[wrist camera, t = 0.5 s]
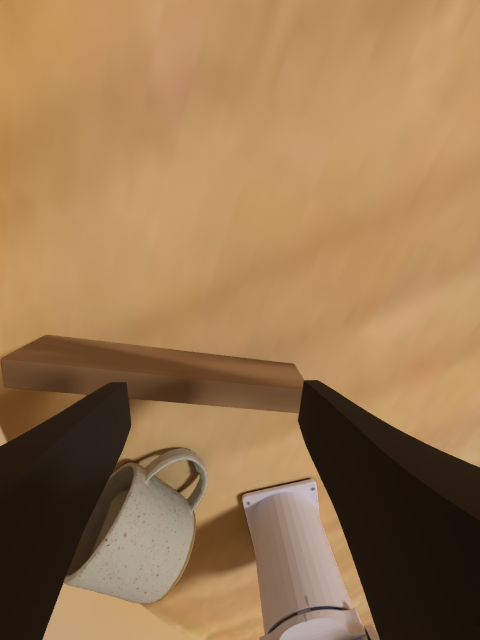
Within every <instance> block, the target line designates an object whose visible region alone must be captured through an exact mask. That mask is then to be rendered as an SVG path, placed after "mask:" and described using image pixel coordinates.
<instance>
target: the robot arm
mask: <svg viewBox="0 0 480 640" xmlns="http://www.w3.org/2000/svg"><path fill="white" fill-rule="evenodd" d="M298 422H299V426H300V429H301V432H302V435H303V438H304V441H305V444H306V447H307V449H308V451H309V453H310V456H311V458H312V460H313V462H314V464H315V467H316V469H317V471H318V473H319V475H320V477H321V480H322V482H323V484H324V486H325V488H326V490H327V493H328V495H329V497H330V499H331V501H332V504H333V506H334V508H335V511H336V513H337V516H338V518H339V521H340V524H341V526H342V529H343V532H344V535H345V537H346V540H347V543H348V546H349V549H350V551H351V554H352V557H353V560H354V563H355V566H356V569H357V572H358V575H359V578H360V581H361V584H362V587H363V589H364V592H365V596H366V599H367V602H368V605H369V608H370V611H371V614H372V618H373V621H374V624H375V627H376V630H375V628H374V627H373V626H372V625H367V626H364V628H363V625H362V623H361V620H360V618H359V615H358V612H357V610H356V609H355V608H354V609H353V607H352V604H351V601H350V599H349V596H348V593H347V591H346V588H345V585H344V582H343V580H342V577H341V574H340V572H339V569H338V566H337V564H336V561H335V558H334V556H333V553H332V550H331V548H330V545H329V542H328V540H327V537H326V534H325V532H324V529H323V526H322V523H321V521H320V515H319V505H318V495H317V485H316V482H315V480H313V479H309V480H304V481H300V482H295V483H291V484H286V485H282V486H277V487H273V488H268V489H264V490H259V491H255V492H250V493H246V494H244V495H243V496H242V502H243V506H244V510H245V514H246V518H247V522H248V526H249V530H250V534H251V538H252V543H253V547H254V551H255V558H256V566H257V574H258V583H259V591H260V599H261V607H262V616H263V624H264V632H265V636H262V637H260V640H480V467H477V466H475V465H472V464H470V463H467V462H465V461H463V460H461V459H458V458H456V457H454V456H452V455H449V454H447V453H445V452H442V451H440V450H438V449H436V448H434V447H432V446H430V445H427V444H425V443H423V442H421V441H420V440H418V439H416V438H414V437H412V436H410V435H408V434H406V433H404V432H402V431H400V430H398V429H396V428H394V427H393V426H391V425H389V424H387V423H386V422H384V421H382V420H381V419H379V418H377V417H375V416H374V415H372V414H370V413H369V412H367V411H366V410H364V409H362V408H361V407H359V406H358V405H356V404H354V403H353V402H351V401H350V400H348V399H347V398H345V397H344V396H342V395H341V394H339V393H338V392H336V391H335V390H333V389H331V388H330V387H328V386H327V385H325V384H323V383H322V382H320V381H318V380H304V382H303V389H302V396H301V403H300V410H299V417H298ZM130 428H131V417H130V408H129V399H128V390H127V382H110V383H108V384H106V385H104V386H103V387H101V388H99V389H97V390H96V391H94V392H93V393H91V394H89V395H88V396H86V397H85V398H83V399H81V400H80V401H78V402H77V403H75V404H73V405H72V406H70V407H69V408H67V409H65V410H64V411H62V412H60V413H59V414H57V415H55V416H54V417H52V418H50V419H48V420H47V421H45V422H43V423H42V424H40V425H38V426H36V427H35V428H33V429H31V430H29V431H28V432H26V433H24V434H22V435H21V436H19V437H17V438H15V439H13V440H11V441H9V442H8V443H6V444H4V445H2V446H0V640H42V639H43V636H44V633H45V631H46V628H47V625H48V623H49V620H50V617H51V614H52V612H53V609H54V606H55V604H56V601H57V598H58V596H59V593H60V590H61V588H62V585H63V582H64V580H65V577H66V575H67V572H68V569H69V567H70V564H71V562H72V559H73V557H74V554H75V552H76V549H77V547H78V544H79V542H80V539H81V536H82V534H83V532H84V530H85V527H86V525H87V523H88V521H89V518H90V516H91V514H92V512H93V510H94V508H95V506H96V504H97V502H98V500H99V498H100V496H101V494H102V492H103V490H104V488H105V486H106V484H107V482H108V480H109V478H110V476H111V474H112V472H113V470H114V467H115V465H116V463H117V461H118V459H119V457H120V455H121V453H122V451H123V448H124V445H125V442H126V440H127V437H128V434H129V431H130ZM364 629H365V631H364Z"/></svg>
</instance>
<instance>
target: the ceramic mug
mask: <svg viewBox="0 0 480 640" xmlns="http://www.w3.org/2000/svg"><path fill="white" fill-rule="evenodd" d="M183 460H190V461H192V462H193V464H194V465H195V468H196V471H198V472H199V473H200V479H199V482H198V483H197V486H196V488H195V489H194V491H193V493H192V494H191V495H190V497H189V498H188V499H185V498H184V497H183V496H182V495H181V494H180V493H178V492H177V491H175V490H174V489H172V488H171V487H169V486H168V485H166V484H165V483H163V482H162V481H161V480H160V479H158V478H157V477H155V476H154V475H155V474H156V473H158V472H159V471H160V470H161V469H163V468H164V467H166V466H168V465H169V464H172V463H174V462H177V461H183ZM206 488H207V472H206V468H205V466H204V464H203V462H202V460H201V458H200V457H199V456H198V455H197V454H196V453H195V452H193V451H191V450H189V449H185V448H178V449H172V450H170V451H167V452H165V453H163V454H162V455H160V456H159V457H158V458H156V459H155V460H154V461H152V462H151V463H150V464H149V465H148V466H147V467H146V468H143V467H141V466H140V465H138V464H136V463H134V462H129V463H127V464H124V465H123V466H122V467H120V468H119V469H117V470H116V471H115V472H114V473H113V474H112V475H111V476H110V478H109V480H108V482H107V484H106V486H105V488H104V490H103V492H102V494H101V496H100V498H99V500H98V502H97V504H96V506H95V508H94V510H93V512H92V514H91V516H90V518H89V521H88V523H87V525H86V527H85V530H84V532H83V534H82V536H81V539H80V542H79V544H78V547H77V549H76V552H75V554H74V557H73V559H72V562H71V564H70V567H69V569H68V572H67V575H66V577H65V580H64V582H63V583H65V584H67V585H69V586H74V587H78V588H82V589H86V590H91V591H95V592H98V593H102V594H106V595H110V596H114V597H117V598H120V599H123V600H126V601H130V602H134V603H153V602H156V601H160V600H161V599H162V598H164V597H165V596H166V595H168V594H169V592H170V591H171V590H172V589H173V588H174V586H175V585H176V584H177V582H178V581H179V580H180V578H181V576H182V574H183V572H184V570H185V568H186V566H187V564H188V561H189V558H190V555H191V552H192V549H193V545H194V540H195V533H196V519H195V513H194V509H195V508H196V507H197V506H198V504H199V503H200V501H201V499H202V498H203V496H204V494H205V491H206Z"/></svg>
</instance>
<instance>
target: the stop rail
mask: <svg viewBox="0 0 480 640" xmlns="http://www.w3.org/2000/svg"><path fill="white" fill-rule="evenodd" d="M1 367H2V374H3V382H4V387H5V388H17V389H28V390H40V391H51V392H63V393H74V394H85V395H89V394H91V393H93V392H94V391H96V390H97V389H99V388H101V387H103V386H104V385H106V384H108V383H110V382H127V390H128V398H131V399H142V400H154V401H165V402H177V403H188V404H199V405H211V406H222V407H234V408H245V409H256V410H268V411H279V412H291V413H299V410H300V403H301V396H302V389H303V382H304V379H303V377H302V376H301V374H300V373H299V371H298V369H297V368H296V366H295V365H294V364H290V363H281V362H273V361H264V360H256V359H247V358H239V357H230V356H222V355H213V354H205V353H196V352H188V351H179V350H171V349H162V348H154V347H145V346H137V345H128V344H120V343H111V342H103V341H94V340H86V339H77V338H69V337H60V336H52V335H45V336H43V337H41V338H39V339H37V340H36V341H34V342H32V343H30V344H28V345H26V346H24V347H22V348H20V349H18V350H17V351H15V352H13V353H11V354H9V355H7V356H5V357H3V358H1Z"/></svg>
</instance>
